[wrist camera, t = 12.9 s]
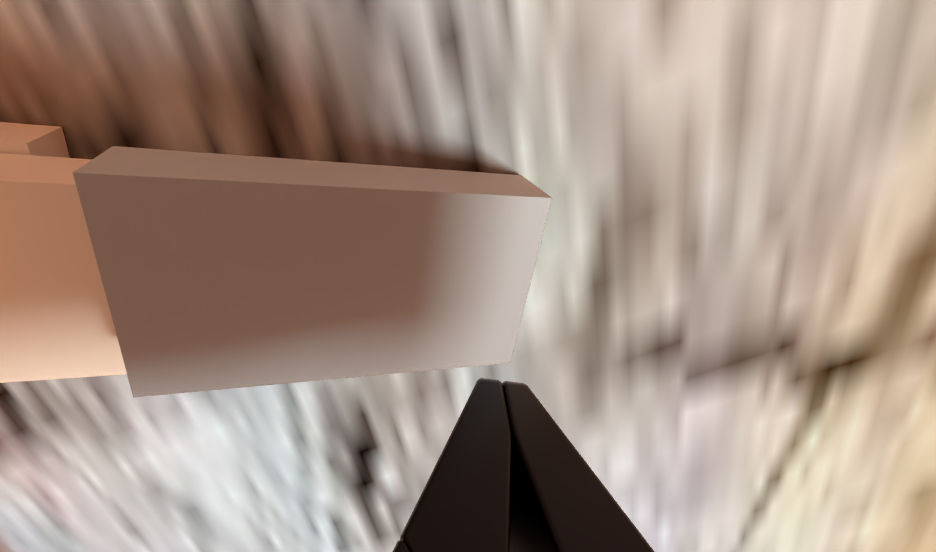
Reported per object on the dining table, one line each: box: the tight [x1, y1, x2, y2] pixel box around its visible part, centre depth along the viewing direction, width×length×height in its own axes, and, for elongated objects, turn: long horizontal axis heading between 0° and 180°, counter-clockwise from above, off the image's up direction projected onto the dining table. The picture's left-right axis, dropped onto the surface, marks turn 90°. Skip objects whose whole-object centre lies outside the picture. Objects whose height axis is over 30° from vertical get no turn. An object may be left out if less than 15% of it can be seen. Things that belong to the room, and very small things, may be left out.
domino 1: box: [0, 153, 127, 383], centre depth 9 cm, size 4×2×8 cm
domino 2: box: [73, 146, 552, 397], centre depth 9 cm, size 4×2×8 cm
